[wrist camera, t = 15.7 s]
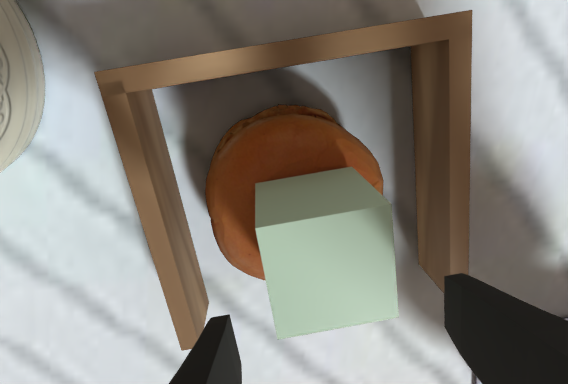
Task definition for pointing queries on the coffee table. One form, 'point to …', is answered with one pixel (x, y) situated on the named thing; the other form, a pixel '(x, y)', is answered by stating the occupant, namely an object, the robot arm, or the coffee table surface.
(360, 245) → the pale green cube
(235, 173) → the burger
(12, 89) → the jar
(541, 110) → the coffee table surface
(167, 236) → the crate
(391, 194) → the coffee table surface
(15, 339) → the coffee table surface
